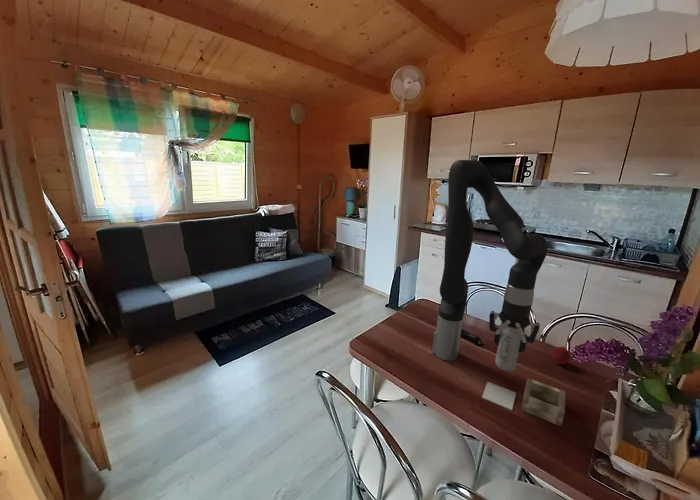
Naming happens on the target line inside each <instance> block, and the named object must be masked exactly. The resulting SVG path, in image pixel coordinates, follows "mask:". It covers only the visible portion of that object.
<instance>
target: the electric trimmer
mask: <svg viewBox="0 0 700 500" xmlns="http://www.w3.org/2000/svg"><path fill="white" fill-rule="evenodd" d="M460 337H464V338H465V339H467V340H469V341H471V343H473V344H475V346H478V347H480V346H482V345H483V341H482V339H481V338H480V337H479V336H476V335H475V334H472V333H471V332H468V331H467V330H465V329H463V328H462V329H461V335H460Z"/></svg>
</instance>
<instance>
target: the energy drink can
mask: <svg viewBox="0 0 700 500" xmlns="http://www.w3.org/2000/svg"><path fill="white" fill-rule="evenodd" d="M520 344H521V336H520V333H519V331H518V329H517V328H515V327H511V326H506V327H505V328H504V329H503V330H501V333H500V338H499V343H498V345H497V350H496V355H495V356H496V357H495V359H494V361H495V364H496V366H497V367H498V369H500V370H502V371H504V372H513V371H514V370H515V369H516V368H517V364H518V359H519V355H520V354H519V353H520V352H519V349H520Z"/></svg>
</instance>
